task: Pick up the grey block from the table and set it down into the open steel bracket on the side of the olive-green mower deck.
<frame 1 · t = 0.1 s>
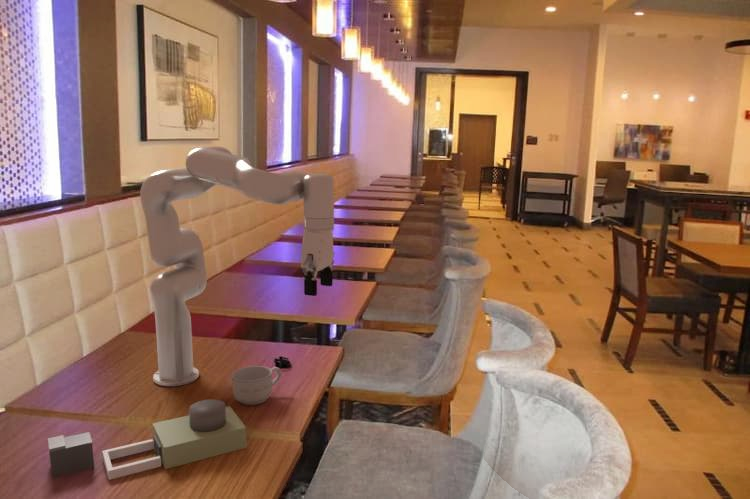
hand: (318, 290, 154), 31 cm above the table, tool pointing down, fingers open, 9 cm apart
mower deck: (200, 445, 139), on the table
grey block: (72, 467, 129), on the table
wireless earbuds: (282, 366, 185), on the table
teacup: (258, 399, 163), on the table
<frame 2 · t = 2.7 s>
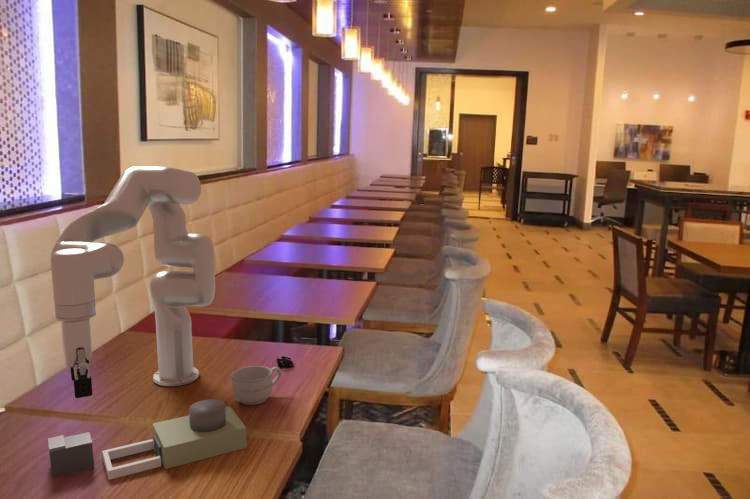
hand: (81, 387, 127), 18 cm above the table, tool pointing down, fingers open, 9 cm apart
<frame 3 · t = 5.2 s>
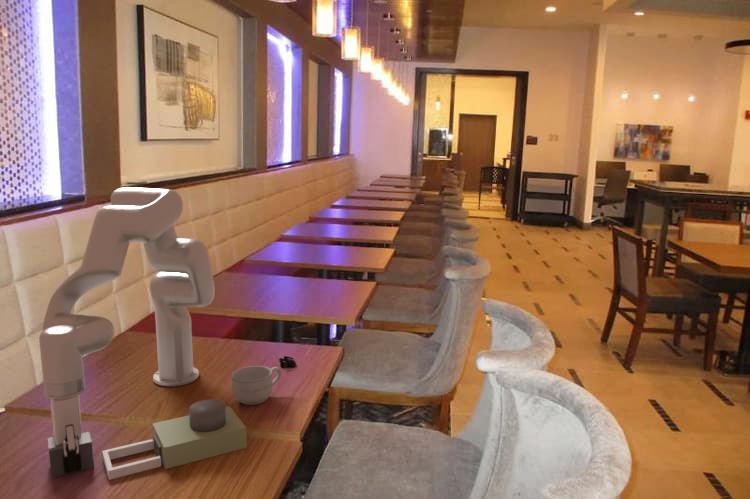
hand: (71, 463, 129), 1 cm above the table, tool pointing down, fingers closed on grey block, 5 cm apart
grey block: (72, 466, 129), on the table, touching gripper
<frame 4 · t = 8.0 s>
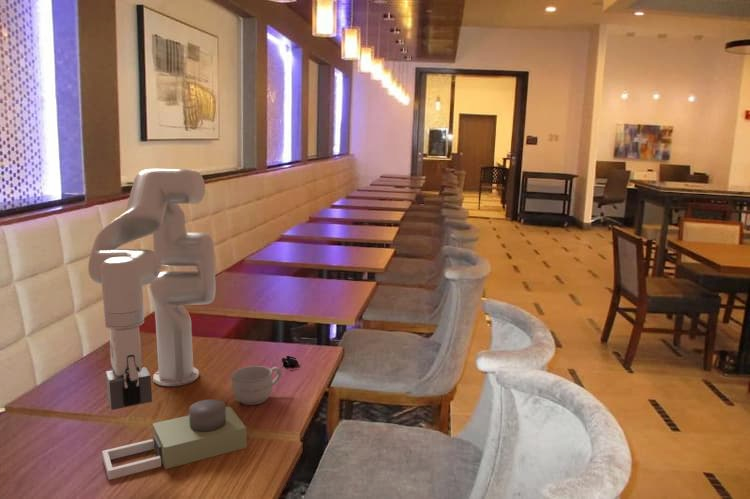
hand: (129, 397, 128), 15 cm above the table, tool pointing down, fingers closed on grey block, 5 cm apart
grey block: (130, 401, 129), point 14 cm above the table, touching gripper
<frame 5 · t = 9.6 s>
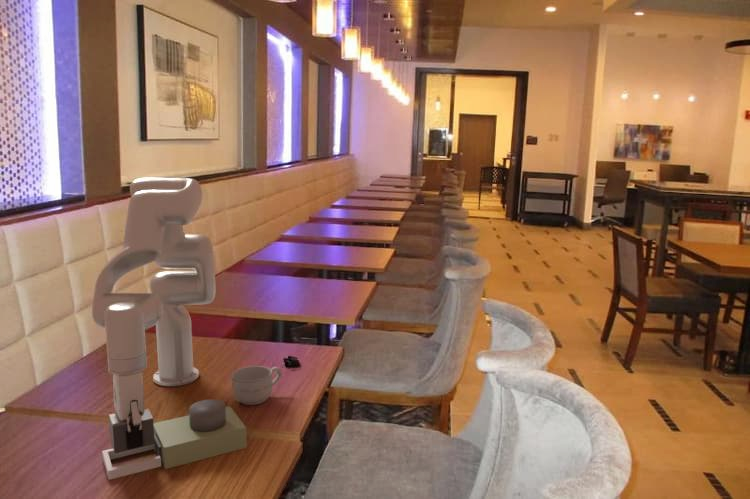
hand: (132, 440, 130), 5 cm above the table, tool pointing down, fingers closed on grey block, 5 cm apart
grey block: (132, 443, 130), point 5 cm above the table, touching gripper
when the fingers open (3 cm above the table, at t = 10.9 s): grey block drops 2 cm, resting in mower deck.
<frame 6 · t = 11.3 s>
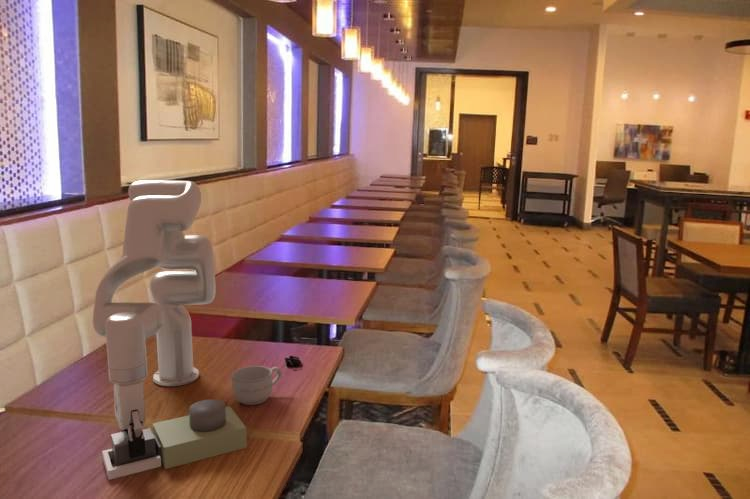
hand: (133, 445, 131), 4 cm above the table, tool pointing down, fingers open, 9 cm apart
grey block: (134, 462, 132), resting in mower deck
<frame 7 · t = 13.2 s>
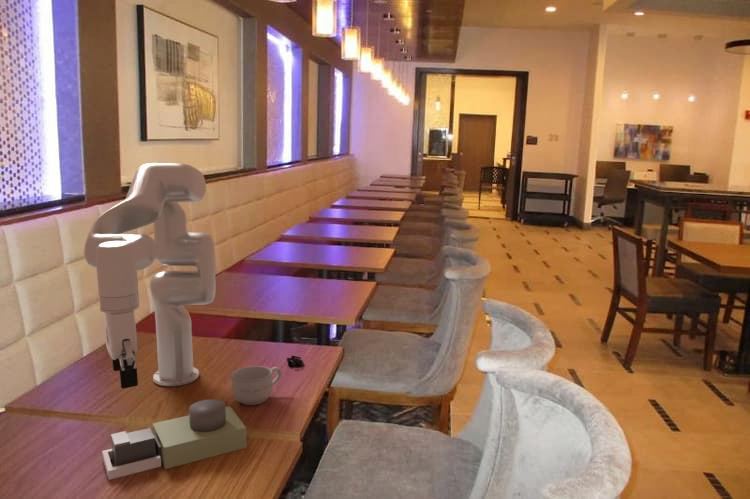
hand: (125, 377, 129), 19 cm above the table, tool pointing down, fingers open, 9 cm apart
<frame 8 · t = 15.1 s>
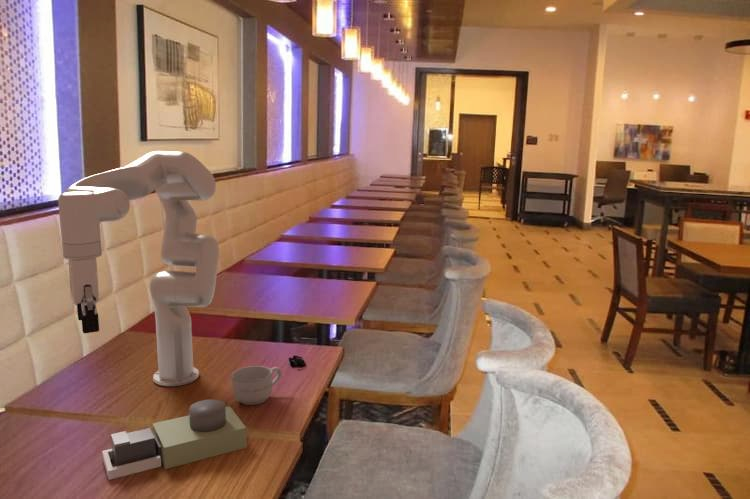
hand: (88, 325, 133), 28 cm above the table, tool pointing down, fingers open, 9 cm apart
at the end: grey block 0.1 cm from the target spot, resting in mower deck; grey block tilted 0°; the gripper is holding nothing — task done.
